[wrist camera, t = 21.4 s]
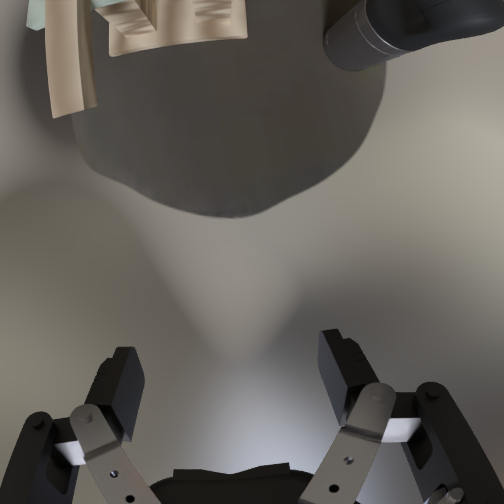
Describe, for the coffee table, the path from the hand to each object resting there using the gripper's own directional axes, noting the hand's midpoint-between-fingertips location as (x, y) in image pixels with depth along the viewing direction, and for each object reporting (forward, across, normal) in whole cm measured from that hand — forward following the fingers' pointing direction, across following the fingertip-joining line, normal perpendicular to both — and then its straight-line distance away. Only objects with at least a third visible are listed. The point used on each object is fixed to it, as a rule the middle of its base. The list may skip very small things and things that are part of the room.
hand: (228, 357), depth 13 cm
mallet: (+15, -12, +24) cm, 31 cm away
